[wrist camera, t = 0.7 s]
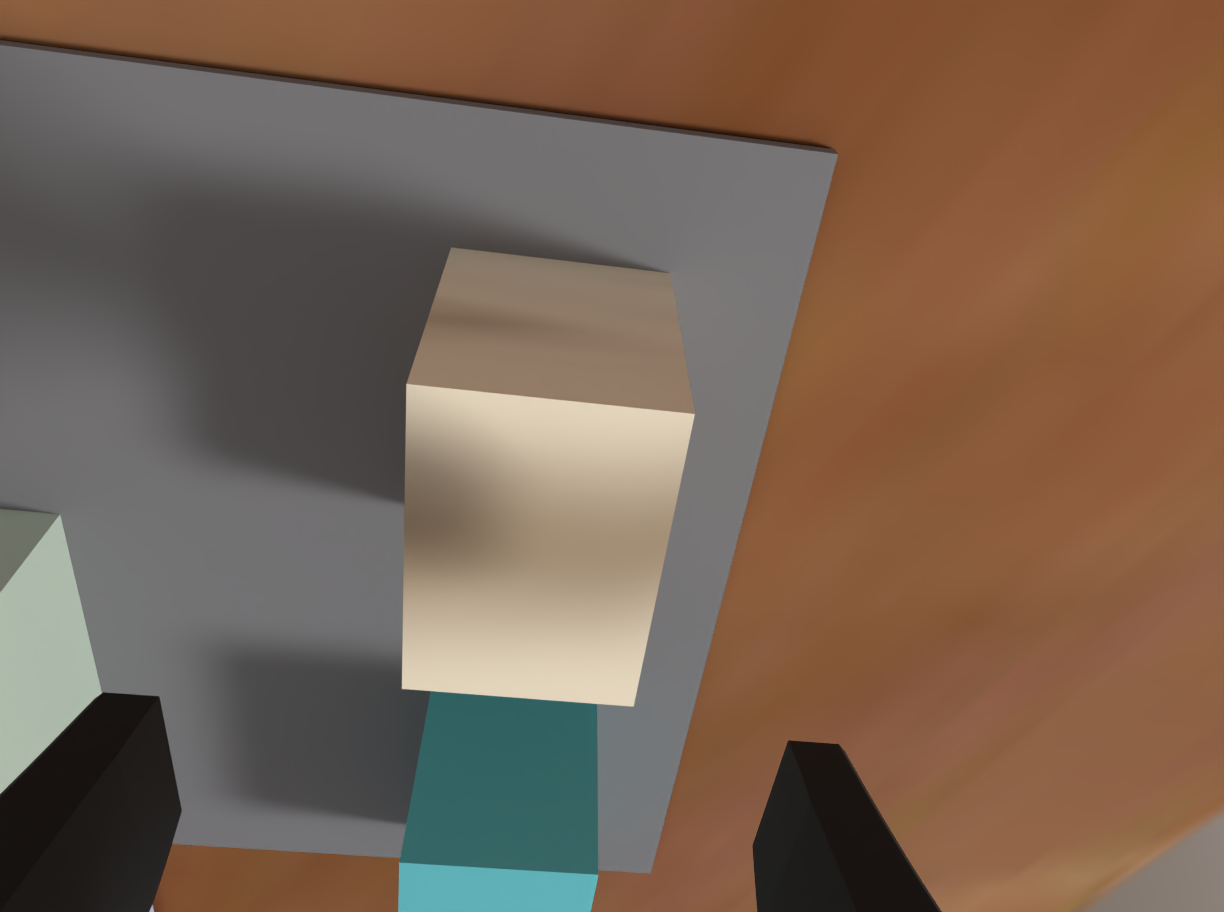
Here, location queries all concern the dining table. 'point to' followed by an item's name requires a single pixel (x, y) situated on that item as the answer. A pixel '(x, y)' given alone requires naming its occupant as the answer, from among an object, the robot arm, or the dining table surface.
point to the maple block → (540, 477)
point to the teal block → (503, 807)
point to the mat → (340, 399)
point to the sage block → (39, 640)
